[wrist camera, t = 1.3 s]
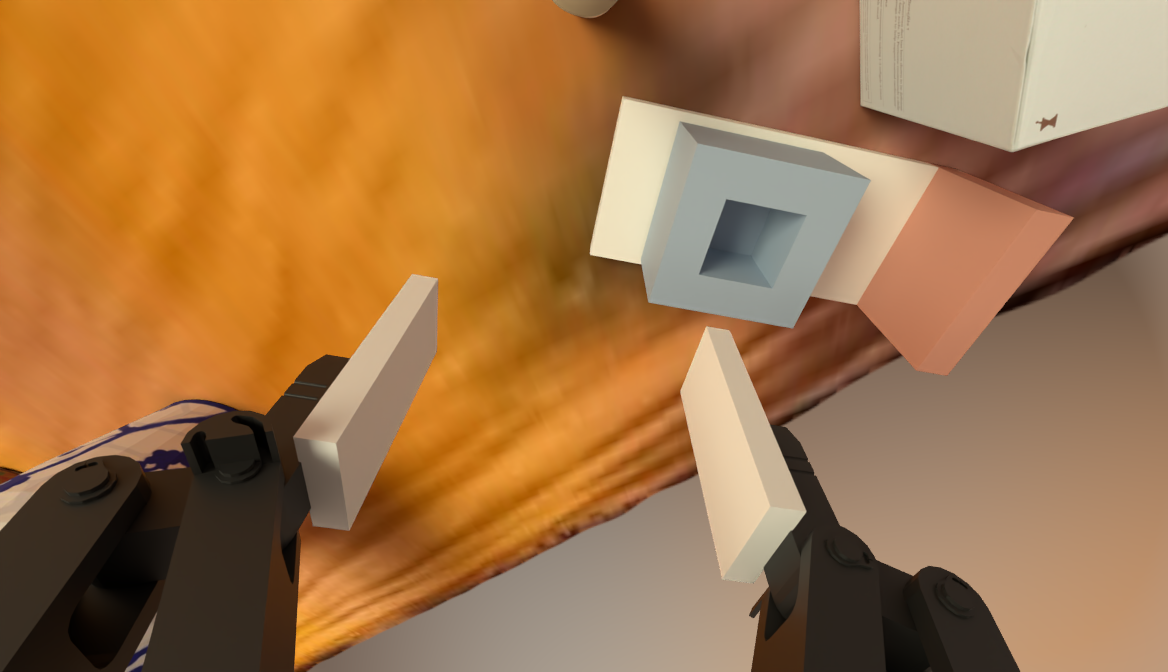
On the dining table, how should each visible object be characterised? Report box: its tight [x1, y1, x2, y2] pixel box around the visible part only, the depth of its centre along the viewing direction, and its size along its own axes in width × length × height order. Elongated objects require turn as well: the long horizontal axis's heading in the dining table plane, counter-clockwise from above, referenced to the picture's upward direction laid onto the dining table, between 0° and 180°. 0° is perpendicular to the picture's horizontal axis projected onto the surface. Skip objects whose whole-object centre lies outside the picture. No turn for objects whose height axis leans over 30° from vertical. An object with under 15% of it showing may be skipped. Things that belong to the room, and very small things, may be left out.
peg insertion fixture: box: [590, 96, 1074, 376], centre depth 28 cm, size 10×22×9 cm, turn 79°
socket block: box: [641, 121, 871, 328], centre depth 28 cm, size 9×9×6 cm
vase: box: [0, 400, 237, 672], centre depth 34 cm, size 19×19×30 cm
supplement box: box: [860, 0, 1168, 152], centre depth 21 cm, size 7×7×13 cm
